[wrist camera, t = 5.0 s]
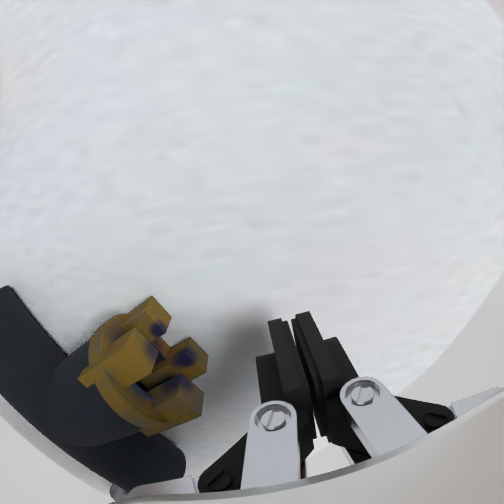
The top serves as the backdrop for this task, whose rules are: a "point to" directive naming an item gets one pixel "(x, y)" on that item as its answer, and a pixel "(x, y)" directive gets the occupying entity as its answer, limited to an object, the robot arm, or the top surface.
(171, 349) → the pipe connector
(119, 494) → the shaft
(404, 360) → the top surface
